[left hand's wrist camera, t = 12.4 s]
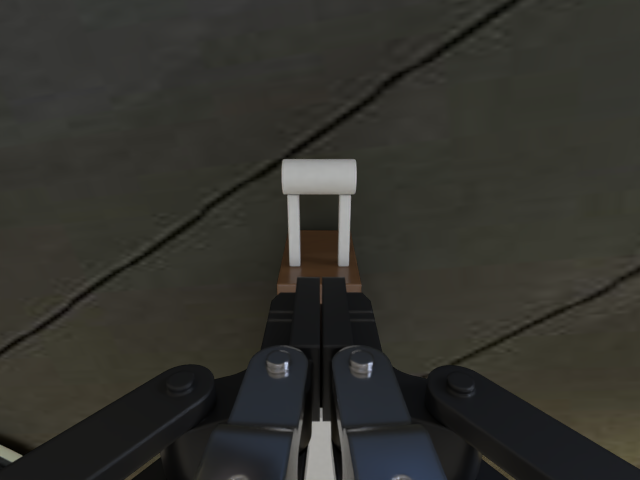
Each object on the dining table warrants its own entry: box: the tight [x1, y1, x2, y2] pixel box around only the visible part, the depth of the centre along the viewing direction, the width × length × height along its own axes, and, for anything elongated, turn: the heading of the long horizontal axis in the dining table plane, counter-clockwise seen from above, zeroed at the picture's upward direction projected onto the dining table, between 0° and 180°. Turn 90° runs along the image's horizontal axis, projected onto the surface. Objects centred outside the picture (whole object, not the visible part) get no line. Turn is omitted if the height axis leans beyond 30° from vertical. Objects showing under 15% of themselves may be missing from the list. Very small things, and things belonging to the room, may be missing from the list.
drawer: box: [277, 159, 362, 408], centre depth 25 cm, size 22×4×8 cm, turn 0°
